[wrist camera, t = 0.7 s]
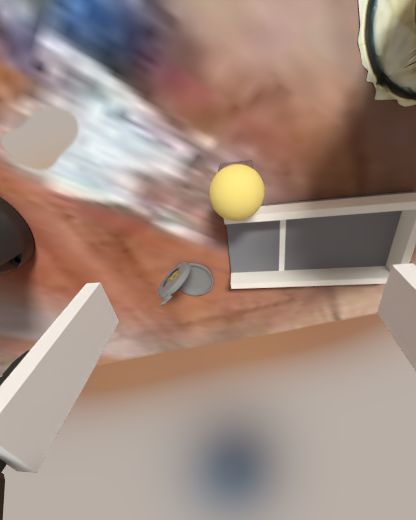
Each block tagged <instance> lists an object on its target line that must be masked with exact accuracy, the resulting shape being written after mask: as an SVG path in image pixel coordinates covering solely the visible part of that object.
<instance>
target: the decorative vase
mask: <svg viewBox="0 0 416 520" xmlns="http://www.w3.org/2000/svg"><path fill="white" fill-rule="evenodd" d="M358 2H359V15H360V31H359V37H358V44H359V48H360V52H361V59H362V65H363V66H364V67H365V68H366V69H367V70H368V75H367V79H366V81H368V82H373V84H374V86H375V88H376V91H377V92H376V95H375V99H374V100H391V99H397V101H398V103H399V105H402V106H404V107H407V106H411V105H415V104H416V0H358Z"/></svg>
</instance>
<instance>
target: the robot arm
mask: <svg viewBox="0 0 416 520" xmlns="http://www.w3.org/2000/svg"><path fill="white" fill-rule="evenodd" d="M33 253H34V240H33V236H32V234H31V231H30V229H29V227H28V225H27V224H26V222H25V221H24V219H23V218H22V217H21V215H20V214H19V213H18V212H17V211H16V210H15V209H14V208H13V207H12V206H11V205H10V204H9V203H7V202H6V201H5V200H3V199H2V198H0V275H3V274H6V273H9V272H12V271H15V270H17V269H18V268H20V267H21V266H23V265H24V264H25V263H27V262H28V261H29V260H30V259H31V257H32V256H33ZM377 314H378V315H379V317H380V318H381V320H382V321H383V323H384V324H385V326H386V327H387V329H388V330H389V332H390V333H391V335H392V336H393V338H394V339H395V341H396V342H397V344H398V345H399V347H400V348H401V350H402V351H403V353H404V354H405V356H406V357H407V359H408V360H409V362H410V363H411V365H412V366H413V368H414V369H415V371H416V266H415V265H414V264H413V263H412V264H395V265H392V266H391V269H390V272H389V276H388V279H387V282H386V286H385V289H384V292H383V296H382V299H381V302H380V306H379V309H378V312H377ZM118 323H119V320H118V318H117V316H116V314H115V312H114V310H113V308H112V306H111V304H110V302H109V300H108V298H107V295H106V293H105V291H104V289H103V287H102V285H101V283H86V285H85V286H84V287H83V288H82V289H81V291H80V292H79V293H78V294H77V295H76V297H75V298H74V299H73V300H72V301H71V302H70V304H69V305H68V306H67V307H66V308H65V310H64V311H63V312H62V313H61V314H60V316H59V317H58V318H57V319H56V320H55V321H54V323H53V324H52V325H51V326H50V327H49V329H48V330H47V331H46V332H45V333H44V335H43V336H42V337H41V338H40V339H39V341H38V342H37V343H36V344H35V345H34V346H33V348H32V349H31V350H28V351H26V352H25V353H24V354H23V355H21V356H20V357H19V358H18V359H16V360H15V361H14V362H13V363H12V364H11V365H10V367H9V368H8V369H7V370H6V371H5V372H4V373H3V376H2V377H0V520H2V519H3V503H4V487H5V479H4V474H3V473H1V472H2V470H3V469H4V467H5V466H6V464H7V465H9V466H10V467H12V468H13V469H15V470H16V471H22V472H33V473H37V472H38V470H39V468H40V466H41V464H42V463H43V461H44V459H45V457H46V455H47V453H48V451H49V449H50V448H51V446H52V444H53V442H54V440H55V439H56V437H57V435H58V433H59V431H60V429H61V428H62V426H63V424H64V422H65V420H66V418H67V417H68V415H69V413H70V411H71V409H72V407H73V405H74V404H75V402H76V400H77V398H78V396H79V394H80V393H81V391H82V389H83V387H84V385H85V383H86V382H87V380H88V378H89V376H90V374H91V372H92V371H93V369H94V367H95V365H96V363H97V361H98V360H99V358H100V356H101V354H102V352H103V350H104V348H105V347H106V345H107V343H108V341H109V339H110V337H111V336H112V334H113V332H114V330H115V328H116V326H117V325H118Z"/></svg>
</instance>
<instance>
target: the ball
mask: <svg viewBox="0 0 416 520" xmlns="http://www.w3.org/2000/svg"><path fill="white" fill-rule="evenodd" d="M209 198H210V202H211V205H212V207H213V208H214V210H215V211H216V212H217V213H218V214H219V215H220V216H221V217H223V218H225V219H227V220H231V221H241V220H245V219H247V218H249V217H251V216H252V215H254V214H255V213H256V212H257V211H258V210H259V208H260V207H261V204H262V202H263V199H264V184H263V181H262V179H261V177H260V176H259V174H258V173H257V172H256V171H255V170H254V169H252V168H251V167H249V166H246V165H242V164H233V165H229V166H227V167H224V168H223V169H221V170H220V171H219V172H218V173H217V174H216V175H215V177H214V178H213V180H212V182H211V185H210V190H209Z"/></svg>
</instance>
